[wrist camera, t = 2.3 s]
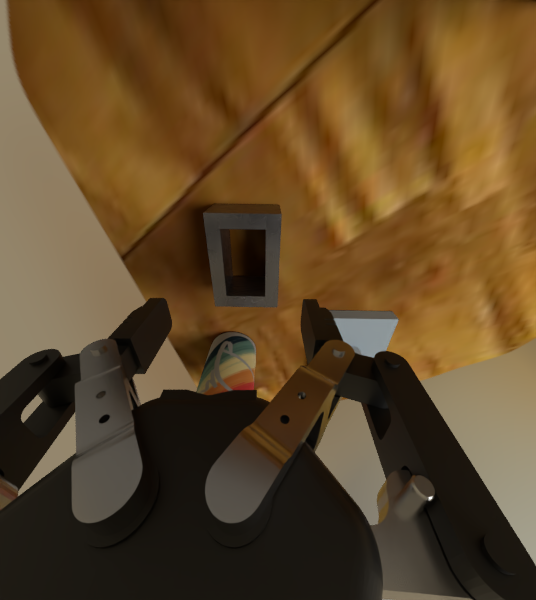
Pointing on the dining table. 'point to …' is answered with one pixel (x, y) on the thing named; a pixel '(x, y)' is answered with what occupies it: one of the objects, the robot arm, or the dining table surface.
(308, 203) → the dining table surface
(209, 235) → the link
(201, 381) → the lotion bottle
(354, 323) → the grey base with peg
